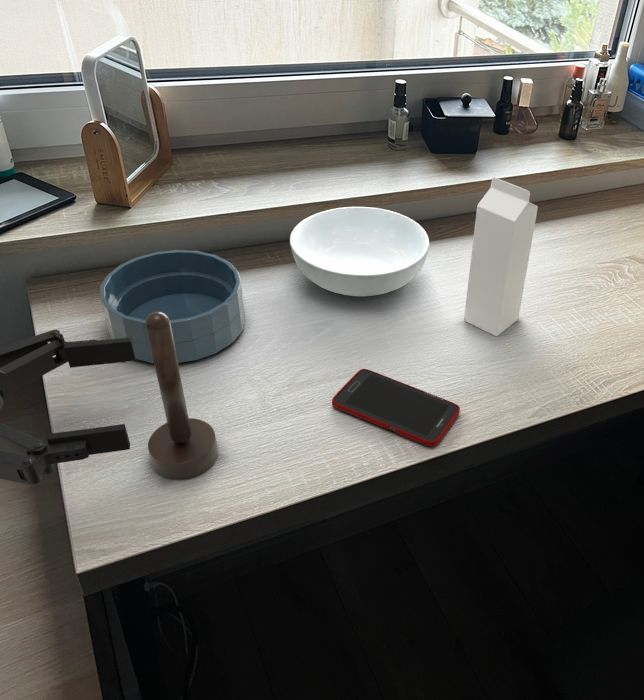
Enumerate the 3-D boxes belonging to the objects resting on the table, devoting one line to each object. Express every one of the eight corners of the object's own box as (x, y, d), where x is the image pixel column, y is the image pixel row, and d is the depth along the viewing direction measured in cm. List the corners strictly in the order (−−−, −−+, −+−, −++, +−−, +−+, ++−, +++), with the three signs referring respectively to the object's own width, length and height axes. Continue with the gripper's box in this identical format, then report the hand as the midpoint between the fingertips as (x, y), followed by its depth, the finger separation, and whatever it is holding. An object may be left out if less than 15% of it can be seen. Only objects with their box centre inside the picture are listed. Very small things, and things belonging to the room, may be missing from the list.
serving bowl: (401, 235, 124) (402, 199, 120) (446, 303, 110) (450, 264, 106) (279, 250, 117) (276, 212, 113) (310, 325, 102) (308, 284, 98)
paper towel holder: (167, 489, 77) (132, 345, 65) (142, 450, 81) (104, 306, 69) (228, 462, 81) (206, 320, 69) (202, 425, 85) (176, 285, 73)
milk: (485, 304, 111) (504, 169, 97) (519, 319, 108) (542, 184, 95) (462, 321, 107) (478, 182, 93) (496, 338, 104) (518, 198, 91)
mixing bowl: (140, 384, 90) (129, 339, 85) (92, 314, 99) (80, 271, 95) (267, 338, 99) (263, 296, 95) (212, 279, 109) (206, 238, 104)
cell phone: (361, 372, 95) (361, 366, 95) (462, 411, 91) (462, 405, 91) (328, 406, 90) (328, 400, 89) (434, 450, 85) (435, 444, 85)
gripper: (-68, 365, 79) (141, 344, 85) (-141, 552, 61) (132, 508, 67) (-95, 309, 74) (129, 291, 81) (-182, 493, 56) (115, 452, 62)
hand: (131, 389), depth 74 cm, fingers open, 13 cm apart
